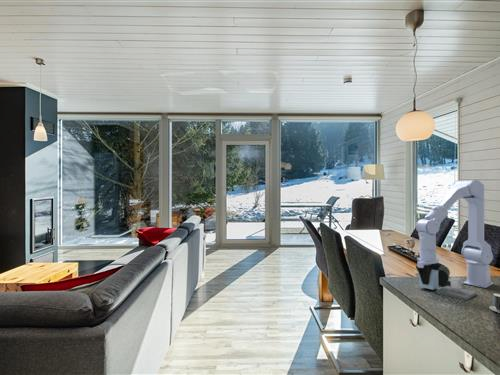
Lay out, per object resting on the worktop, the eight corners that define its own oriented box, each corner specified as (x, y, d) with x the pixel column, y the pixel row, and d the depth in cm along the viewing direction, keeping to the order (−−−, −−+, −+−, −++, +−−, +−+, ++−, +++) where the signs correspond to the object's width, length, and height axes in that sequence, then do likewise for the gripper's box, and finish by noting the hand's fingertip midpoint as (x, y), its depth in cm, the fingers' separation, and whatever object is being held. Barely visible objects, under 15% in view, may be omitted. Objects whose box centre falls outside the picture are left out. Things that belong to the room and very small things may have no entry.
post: (453, 289, 118) (453, 276, 119) (461, 291, 116) (461, 278, 116) (450, 291, 117) (450, 278, 117) (458, 292, 115) (458, 279, 115)
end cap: (448, 287, 125) (448, 270, 125) (428, 284, 129) (428, 268, 129) (450, 281, 133) (449, 265, 133) (431, 278, 137) (430, 263, 137)
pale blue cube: (424, 284, 126) (424, 268, 126) (438, 287, 122) (438, 270, 122) (419, 286, 123) (418, 270, 123) (432, 289, 119) (432, 272, 119)
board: (446, 288, 124) (446, 285, 124) (476, 294, 116) (476, 291, 116) (436, 293, 118) (436, 290, 118) (466, 300, 110) (466, 297, 110)
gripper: (425, 245, 130) (426, 277, 130) (409, 249, 122) (409, 284, 121) (443, 247, 125) (444, 281, 125) (427, 252, 116) (428, 288, 116)
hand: (428, 282), depth 123 cm, fingers closed on pale blue cube, 5 cm apart
